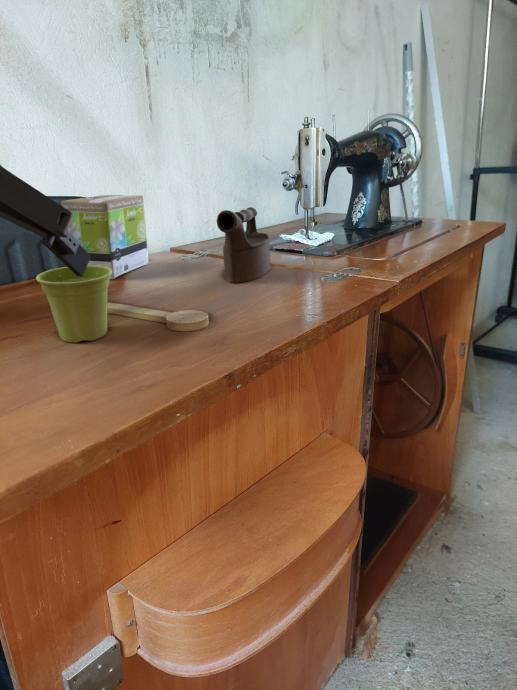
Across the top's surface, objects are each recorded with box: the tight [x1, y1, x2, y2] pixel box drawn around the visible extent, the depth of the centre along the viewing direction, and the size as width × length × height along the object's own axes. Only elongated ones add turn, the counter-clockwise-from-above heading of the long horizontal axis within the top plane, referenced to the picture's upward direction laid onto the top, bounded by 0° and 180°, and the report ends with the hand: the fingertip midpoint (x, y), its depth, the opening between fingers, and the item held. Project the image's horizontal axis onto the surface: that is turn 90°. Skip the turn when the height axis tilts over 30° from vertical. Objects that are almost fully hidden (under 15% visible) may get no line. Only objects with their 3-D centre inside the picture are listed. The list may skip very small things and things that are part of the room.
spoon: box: [107, 301, 210, 332], centre depth 77 cm, size 22×6×1 cm, turn 61°
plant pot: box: [35, 265, 112, 344], centre depth 69 cm, size 9×9×9 cm
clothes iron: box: [216, 206, 271, 284], centre depth 97 cm, size 8×16×13 cm, turn 164°
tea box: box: [60, 194, 149, 280], centre depth 104 cm, size 15×10×15 cm
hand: (36, 263), depth 60 cm, fingers open, 13 cm apart
